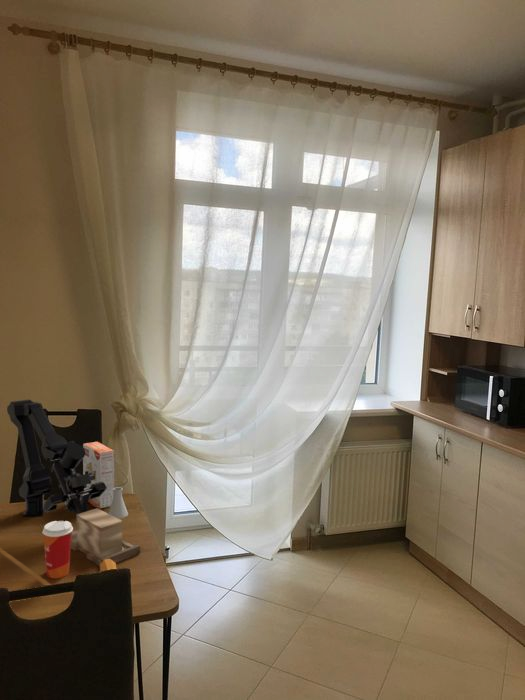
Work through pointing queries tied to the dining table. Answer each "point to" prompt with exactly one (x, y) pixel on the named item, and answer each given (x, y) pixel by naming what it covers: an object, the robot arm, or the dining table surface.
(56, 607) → the dining table surface
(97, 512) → the tea box
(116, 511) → the flask
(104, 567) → the carrot
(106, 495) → the cracker box
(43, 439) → the robot arm
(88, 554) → the tan shallow tray
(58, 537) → the paper cup
